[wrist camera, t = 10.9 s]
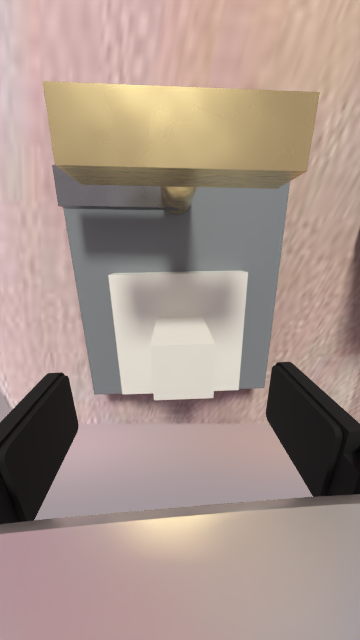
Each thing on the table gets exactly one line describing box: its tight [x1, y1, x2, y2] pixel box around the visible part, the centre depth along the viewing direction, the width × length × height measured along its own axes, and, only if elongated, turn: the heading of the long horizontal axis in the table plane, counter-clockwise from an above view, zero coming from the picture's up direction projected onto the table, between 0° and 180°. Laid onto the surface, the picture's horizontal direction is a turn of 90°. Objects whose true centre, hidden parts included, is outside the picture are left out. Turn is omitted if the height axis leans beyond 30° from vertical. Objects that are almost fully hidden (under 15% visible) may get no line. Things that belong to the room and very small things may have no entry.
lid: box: [108, 271, 248, 400], centre depth 15 cm, size 10×10×6 cm
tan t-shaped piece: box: [43, 81, 320, 215], centre depth 11 cm, size 11×2×9 cm, turn 90°
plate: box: [44, 93, 290, 394], centre depth 18 cm, size 22×16×3 cm
